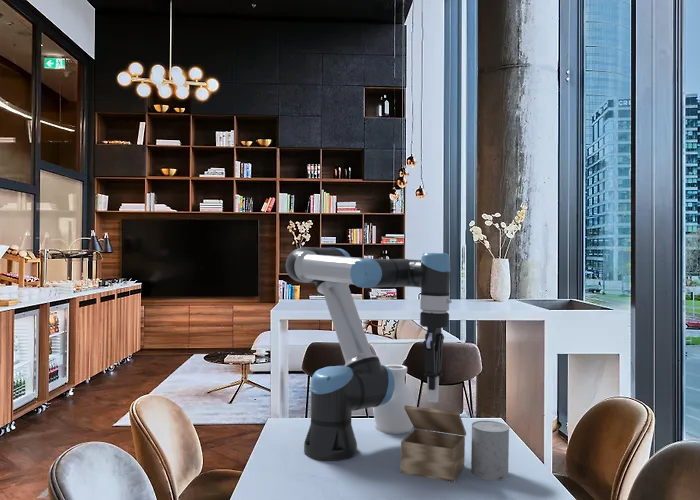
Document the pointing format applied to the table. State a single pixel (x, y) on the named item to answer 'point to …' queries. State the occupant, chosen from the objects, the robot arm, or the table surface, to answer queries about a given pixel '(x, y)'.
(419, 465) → the box
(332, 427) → the robot arm
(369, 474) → the table surface
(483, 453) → the grey cylinder
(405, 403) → the vase
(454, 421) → the lid
